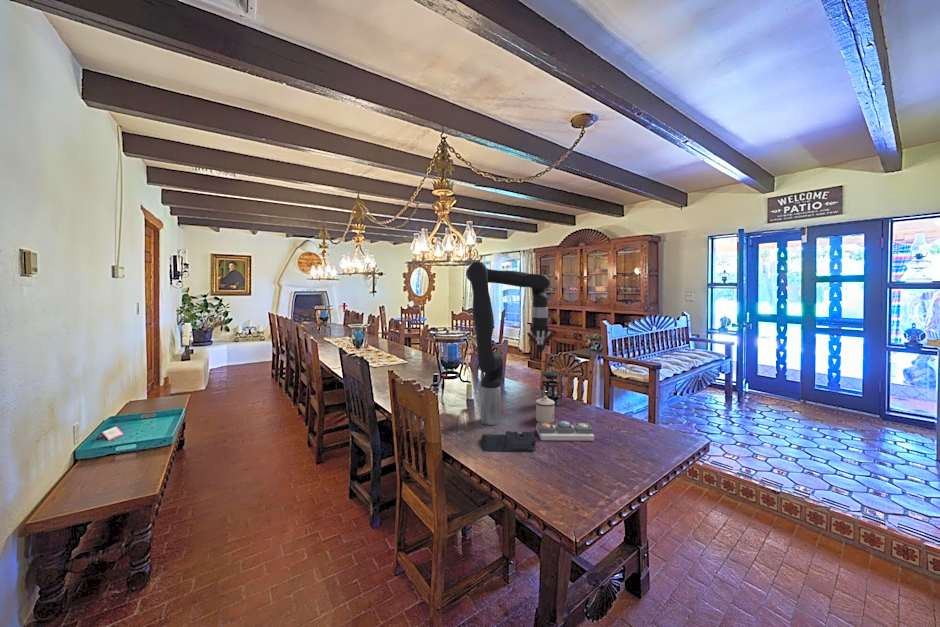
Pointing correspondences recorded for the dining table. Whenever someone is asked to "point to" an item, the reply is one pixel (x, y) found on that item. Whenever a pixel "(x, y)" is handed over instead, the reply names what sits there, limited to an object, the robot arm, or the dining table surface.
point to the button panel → (565, 432)
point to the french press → (551, 393)
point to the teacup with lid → (545, 410)
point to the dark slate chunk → (509, 442)
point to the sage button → (582, 425)
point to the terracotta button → (545, 425)
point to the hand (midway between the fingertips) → (539, 351)
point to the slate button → (564, 424)
